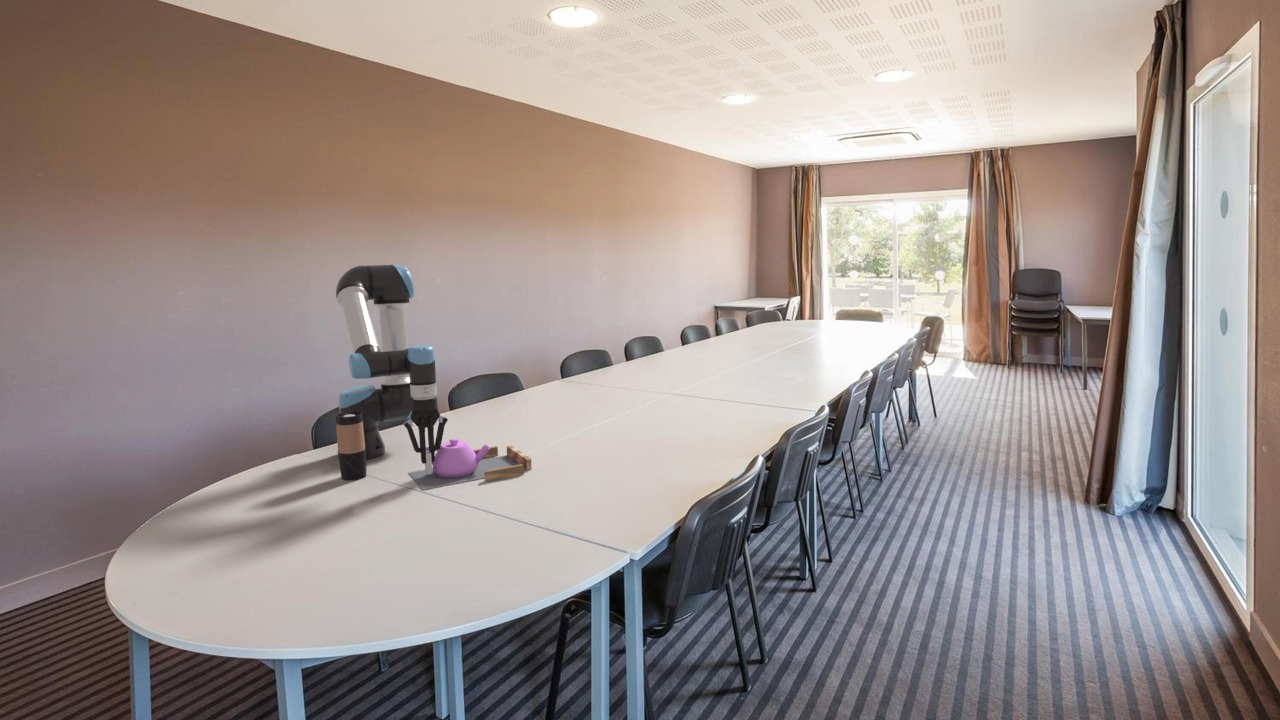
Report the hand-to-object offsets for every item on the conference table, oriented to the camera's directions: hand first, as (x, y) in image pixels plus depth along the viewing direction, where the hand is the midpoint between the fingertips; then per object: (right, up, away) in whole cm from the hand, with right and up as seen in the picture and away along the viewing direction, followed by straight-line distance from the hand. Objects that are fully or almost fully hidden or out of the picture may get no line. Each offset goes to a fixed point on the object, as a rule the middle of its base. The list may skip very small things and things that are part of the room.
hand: (428, 472), depth 197 cm
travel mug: (-24, -2, +3) cm, 25 cm away
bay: (+18, 0, +11) cm, 21 cm away
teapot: (+7, -1, +6) cm, 10 cm away
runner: (+11, -1, +7) cm, 13 cm away
